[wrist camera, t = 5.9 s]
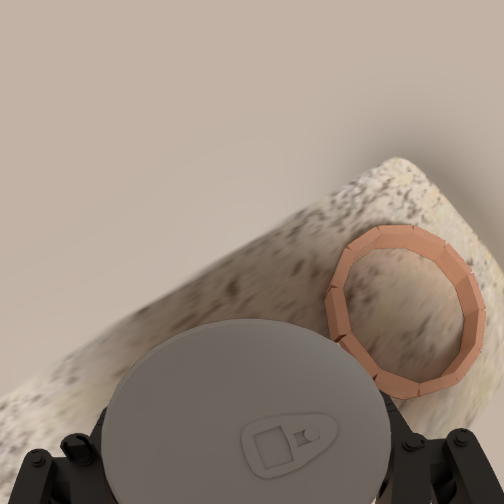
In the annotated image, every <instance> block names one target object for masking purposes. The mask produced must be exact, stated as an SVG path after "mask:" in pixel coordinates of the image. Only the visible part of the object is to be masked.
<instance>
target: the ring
mask: <svg viewBox="0 0 504 504" xmlns="http://www.w3.org/2000/svg"><path fill="white" fill-rule="evenodd" d="M445 243H446V241H445V240H443V239H441V238H439V237H437V236H435V235H433V234H431V233H429V232H427V231H425V230H422V229H420V228H418V227H416V226H414V227H413V228H412V225H380V226H377V228H376V227H374V228H372V229H371V230H369V231H368V232H366V233H365V234H363V235H362V236H360V237H359V238H357V239H356V240H354V241H353V242H351V243H350V244H348V245H347V247H346V248H345V249H344V251H343V254H342V256H341V258H340V260H339V262H338V265H337V267H336V270H335V272H334V275H333V278H332V280H331V283H330V285H329V288H328V290H327V293H326V295H325V300H324V302H325V308H326V314H327V321H328V327H329V333H330V340H332V341H333V342H335V343H339V344H340V346H341V347H342V348H343V349H344V350H346V351H347V352H348V353H349V354H351V355H352V356H353V357H354V358H356V360H357V361H358V362H359V363H360V364H361V365H362V367H363V368H364V369H365V370H366V371H367V372H368V374H369V375H370V376H371V377H372V379H373V381H374V382H375V384H376V386H377V388H378V390H382V391H383V392H384V393H386V394H388V395H391V396H394V397H397V398H400V399H402V400H403V399H410V398H414V397H418V396H422V395H425V394H428V393H431V392H434V391H438V390H441V389H444V388H447V387H449V386H452V385H455V384H457V383H458V382H460V381H461V379H462V378H463V377H464V375H465V374H466V373H467V371H468V370H469V368H470V367H471V366H472V364H473V363H474V361H475V360H476V358H477V357H478V355H479V354H480V353H481V351H480V350H481V349H482V346H483V338H484V329H485V318H486V311H484V309H486V308H485V305H484V301H483V298H482V295H481V292H480V289H479V286H478V283H477V281H476V278H475V275H474V273H470V272H471V271H472V269H471V268H470V267H469V266H468V265H467V264H466V262H465V261H464V260H463V259H462V258H461V257H460V255H459V254H458V253H457V252H456V251H455V250H454V249H453V248H452V246H451V245H450V244H449V243H447V244H446V245H445ZM401 247H404V248H407V249H409V250H411V251H413V252H415V253H417V254H420V255H422V256H424V257H426V258H428V259H430V260H432V261H434V262H435V263H436V265H437V266H438V267H439V268H440V269H441V270H442V272H443V273H444V274H445V275H446V276H447V277H448V279H449V280H450V281H451V282H452V283H453V284H454V286H455V288H456V291H457V294H458V297H459V300H460V304H461V307H462V310H463V314H464V318H465V322H464V329H463V336H462V342H461V348H460V353H459V354H458V355H457V357H456V358H455V359H454V361H453V362H452V363H451V364H450V366H449V367H448V368H447V369H446V371H445V372H444V373H443V374H442V375H441V377H440V378H437V379H433V380H430V381H427V382H423V383H417V382H414V381H411V380H408V379H406V378H403V377H400V376H398V375H395V374H392V373H390V372H387V371H384V370H382V369H380V368H379V366H378V365H377V364H376V363H375V361H374V360H373V359H372V357H371V356H370V355H369V354H368V352H367V351H366V350H365V349H364V347H363V346H362V345H361V344H360V342H359V341H358V340H357V339H356V337H355V336H354V335H353V334H352V332H351V327H350V321H349V316H348V311H347V306H346V300H345V296H344V291H343V287H344V284H345V282H346V279H347V276H348V273H349V270H350V268H351V265H352V264H353V263H355V262H356V261H357V260H359V259H360V258H362V257H363V256H364V255H366V254H367V253H368V252H370V251H371V250H373V249H382V248H401Z"/></svg>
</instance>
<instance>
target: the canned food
mask: <svg viewBox="0 0 504 504" xmlns="http://www.w3.org/2000/svg"><path fill="white" fill-rule="evenodd" d="M390 451H391V432H390V421H389V417H388V414H387V410H386V406H385V403H384V399H383V397H382V395H381V394H380V392H379V390H378V388H377V386H376V384H375V382H374V381H373V379H372V377H371V376H370V375H369V374H368V372H367V371H366V370H365V369H364V368H363V367H362V365H361V364H360V363H359V362H358V361H357V360H356V358H354V357H353V356H352V355H351V354H349V353H348V352H347V351H346V350H344V349H343V348H342V347H340V346H339V345H338V344H337V343H335V342H333V341H332V340H330V339H328V338H326V337H324V336H322V335H320V334H318V333H316V332H314V331H312V330H309V329H306V328H303V327H300V326H296V325H293V324H290V323H287V322H281V321H273V320H266V319H259V318H255V319H229V320H224V321H218V322H213V323H208V324H203V325H200V326H197V327H195V328H192V329H189V330H187V331H184V332H181V333H178V334H176V335H175V336H173V337H171V338H169V339H168V340H166V341H164V342H162V343H161V344H159V345H157V346H155V347H154V348H153V349H152V350H150V351H149V352H148V353H147V354H146V355H145V356H143V357H142V358H141V359H140V360H139V361H137V362H136V363H135V364H134V365H133V367H132V368H131V369H130V370H129V372H128V373H127V374H126V375H125V377H124V378H123V379H122V380H121V382H120V383H119V384H118V386H117V388H116V390H115V392H114V394H113V396H112V398H111V400H110V402H109V404H108V407H107V411H106V415H105V419H104V423H103V427H102V442H101V454H102V459H103V464H104V469H105V474H106V478H107V480H108V483H109V485H110V487H111V489H112V492H113V494H114V496H115V498H116V500H117V502H118V503H119V504H371V503H372V502H373V500H374V499H375V497H376V496H377V494H378V491H379V489H380V487H381V484H382V482H383V480H384V477H385V475H386V472H387V468H388V462H389V457H390Z"/></svg>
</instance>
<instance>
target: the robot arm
mask: <svg viewBox="0 0 504 504" xmlns="http://www.w3.org/2000/svg"><path fill="white" fill-rule="evenodd" d="M337 344H338V345H339V346H340V344H339V343H337ZM340 347H341V346H340ZM147 353H148V352H147ZM379 392H380V394H381V395H382V397H383V399H384V403H385V406H386V410H387V414H388V417H389V421H390V432H391V451H390V457H389V462H388V468H387V472H386V475H385V477H384V480H383V482H382V484H381V487H380V489H379V491H378V494H377V496H376V502H375V504H430V503H432V504H504V493H503V490H502V488H501V486H500V484H499V481H498V479H497V477H496V475H495V473H494V471H493V469H492V467H491V465H490V463H489V461H488V459H487V457H486V455H485V454H484V452H483V450H482V448H481V446H480V444H479V442H478V440H477V438H476V437H475V435H474V434H473V433H472V432H471V431H469V430H468V429H463V428H458V429H455V430H452V431H451V432H450V433H449V434H448V436H447V438H445V439H434V440H427V439H426V438H425V437H424V436H423V435H420V434H418V433H413V432H412V431H411V429H410V428H409V426H408V424H407V423H406V421H405V420H404V418H403V417H402V415H401V414H400V412H399V411H398V410H397V407H396V406H395V404H393V401H392V400H391V398H390V397H389V395H387V394H386V393H384V392H383V391H382V390H379ZM107 407H108V406H107ZM107 407H106V408H105V409H104V410H103V412H102V414H101V416H100V419H98V421H97V423H96V425H95V427H94V429H93V431H92V433H91V435H90V437H89V436H88V435H85V434H82V433H74V434H70V435H68V436H67V437H65V438H64V439H63V440H62V442H61V445H60V448H61V449H62V451H63V452H64V454H65V455H66V457H52V456H51V454H50V453H49V452H48V451H47V450H44V449H34V450H31V451H30V452H28V453H27V455H26V456H25V458H24V460H23V463H22V465H21V468H20V471H19V473H18V476H17V479H16V482H15V484H14V487H13V490H12V493H11V496H10V499H9V502H8V504H119V503H118V502H117V500H116V498H115V496H114V494H113V492H112V489H111V487H110V485H109V483H108V480H107V478H106V474H105V469H104V464H103V459H102V454H101V442H102V427H103V423H104V419H105V415H106V411H107Z"/></svg>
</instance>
